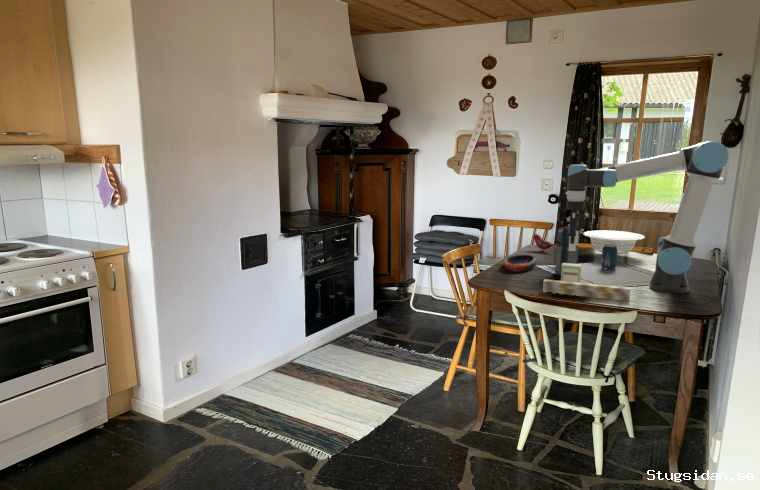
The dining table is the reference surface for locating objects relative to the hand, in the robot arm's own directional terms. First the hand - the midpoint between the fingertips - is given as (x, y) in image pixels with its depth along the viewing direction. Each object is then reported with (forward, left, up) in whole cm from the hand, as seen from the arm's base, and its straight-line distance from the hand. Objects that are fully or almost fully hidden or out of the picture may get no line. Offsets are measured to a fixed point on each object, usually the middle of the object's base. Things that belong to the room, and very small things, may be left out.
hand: (573, 248), depth 233 cm
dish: (+28, -28, -18) cm, 44 cm away
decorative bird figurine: (+20, -72, -18) cm, 77 cm away
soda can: (-15, -43, -18) cm, 49 cm away
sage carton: (0, 0, -18) cm, 18 cm away
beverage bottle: (+4, -21, -18) cm, 28 cm away
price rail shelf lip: (-7, +13, -18) cm, 23 cm away
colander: (-16, -73, -18) cm, 77 cm away
